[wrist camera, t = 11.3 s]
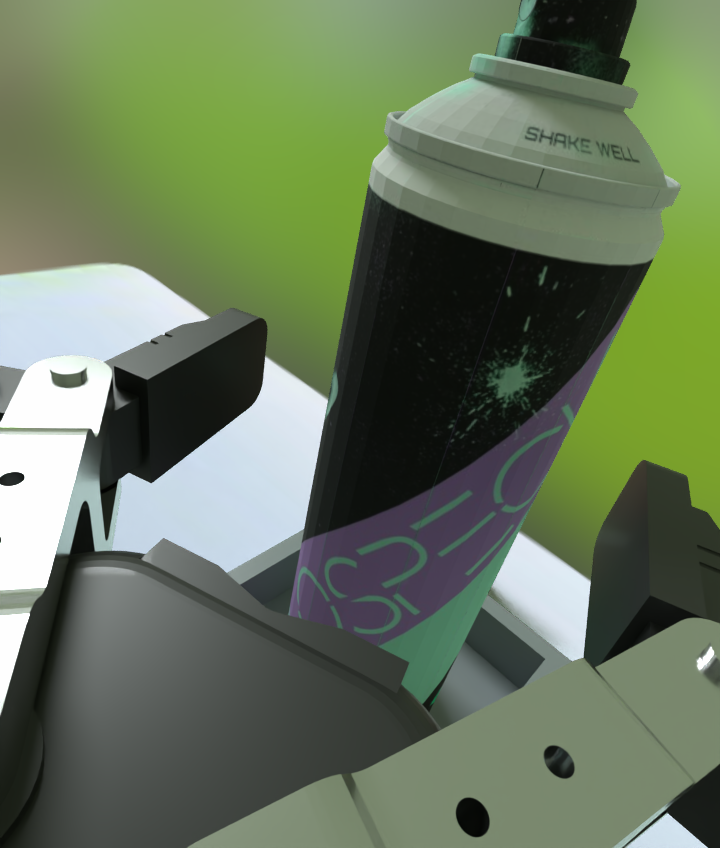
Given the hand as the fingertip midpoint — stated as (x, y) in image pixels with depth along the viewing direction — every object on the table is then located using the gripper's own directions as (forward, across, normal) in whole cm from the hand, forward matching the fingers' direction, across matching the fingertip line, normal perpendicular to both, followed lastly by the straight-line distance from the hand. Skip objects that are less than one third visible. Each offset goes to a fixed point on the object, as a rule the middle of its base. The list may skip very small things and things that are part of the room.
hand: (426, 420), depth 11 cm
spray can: (+2, 0, +13) cm, 13 cm away
